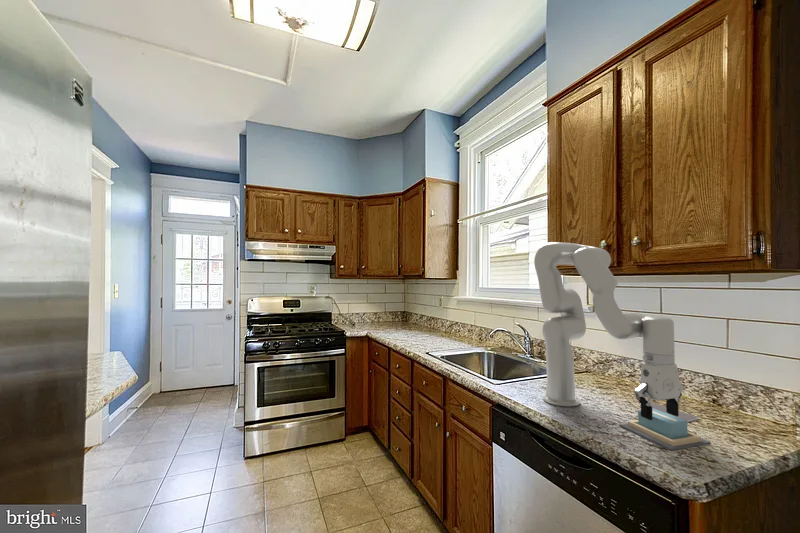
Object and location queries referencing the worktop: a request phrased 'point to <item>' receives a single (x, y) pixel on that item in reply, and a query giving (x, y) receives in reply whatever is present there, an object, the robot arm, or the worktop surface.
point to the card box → (665, 424)
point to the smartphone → (681, 415)
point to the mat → (664, 441)
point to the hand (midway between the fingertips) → (659, 416)
